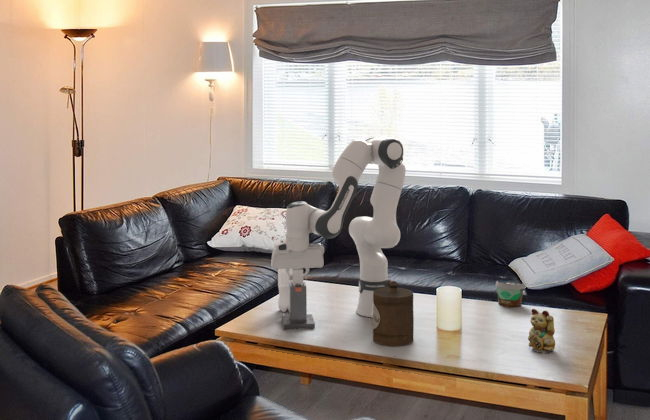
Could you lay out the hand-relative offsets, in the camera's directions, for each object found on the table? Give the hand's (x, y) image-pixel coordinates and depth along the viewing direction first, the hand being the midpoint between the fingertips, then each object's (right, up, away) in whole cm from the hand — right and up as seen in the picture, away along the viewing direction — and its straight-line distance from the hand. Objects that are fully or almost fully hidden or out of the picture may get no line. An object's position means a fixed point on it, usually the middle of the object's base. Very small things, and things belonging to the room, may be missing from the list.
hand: (297, 279), depth 306 cm
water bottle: (-5, -15, +21) cm, 27 cm away
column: (0, -16, +3) cm, 16 cm away
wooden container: (+35, -21, -16) cm, 44 cm away
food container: (+88, -14, +27) cm, 93 cm away
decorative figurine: (+87, -23, -27) cm, 94 cm away
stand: (0, -18, +3) cm, 18 cm away
